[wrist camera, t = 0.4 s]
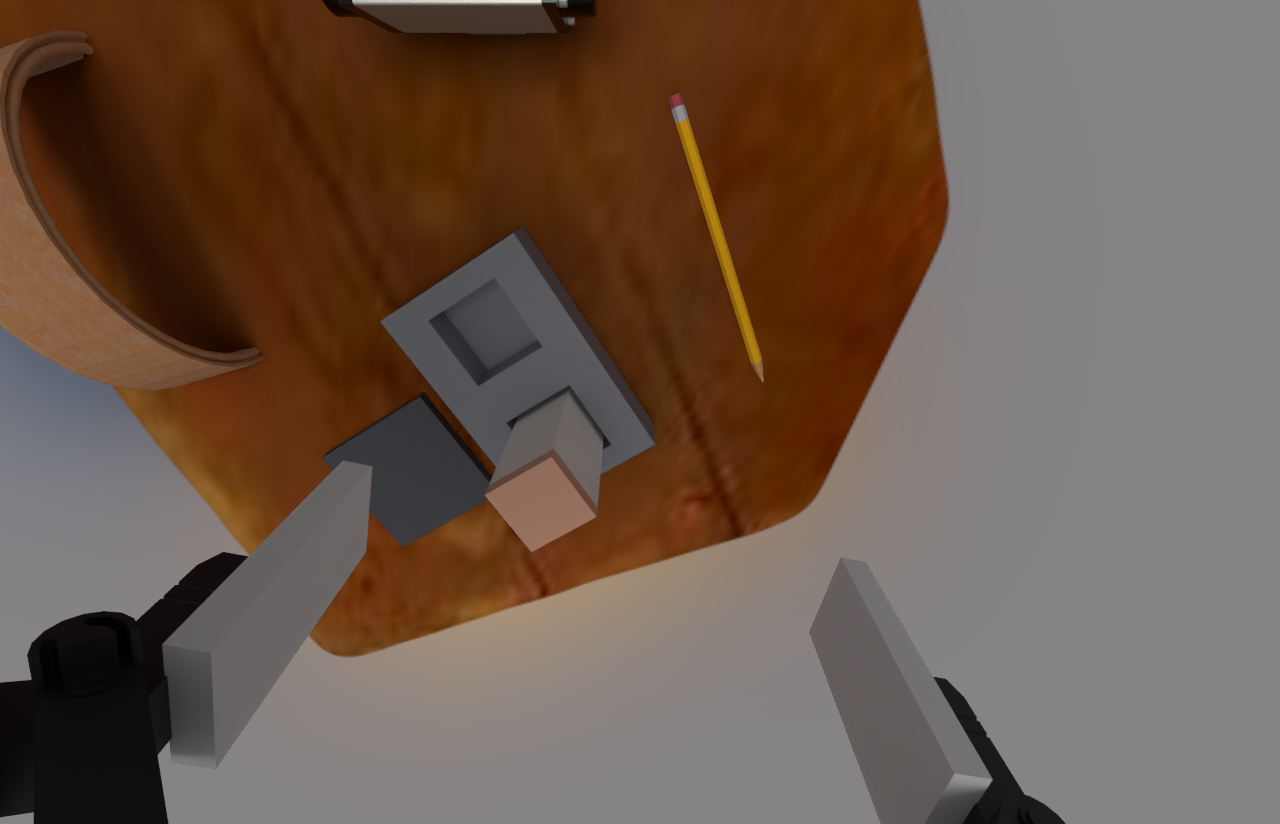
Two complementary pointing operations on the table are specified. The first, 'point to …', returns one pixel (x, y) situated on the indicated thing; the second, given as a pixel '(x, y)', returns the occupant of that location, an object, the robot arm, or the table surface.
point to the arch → (74, 264)
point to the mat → (415, 470)
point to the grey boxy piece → (515, 350)
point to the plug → (549, 470)
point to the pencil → (715, 229)
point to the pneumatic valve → (467, 15)
